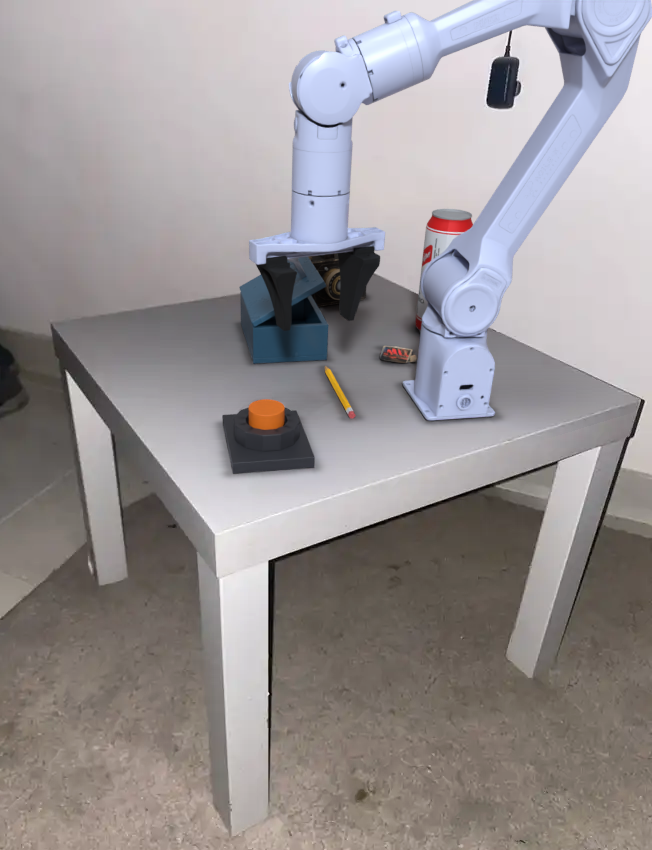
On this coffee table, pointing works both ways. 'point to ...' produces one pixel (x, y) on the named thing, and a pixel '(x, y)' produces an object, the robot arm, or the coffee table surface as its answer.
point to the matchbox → (397, 354)
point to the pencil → (340, 393)
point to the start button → (266, 414)
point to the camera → (328, 279)
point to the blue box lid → (260, 298)
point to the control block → (266, 444)
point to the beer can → (440, 242)
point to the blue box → (288, 335)
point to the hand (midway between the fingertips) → (315, 322)
